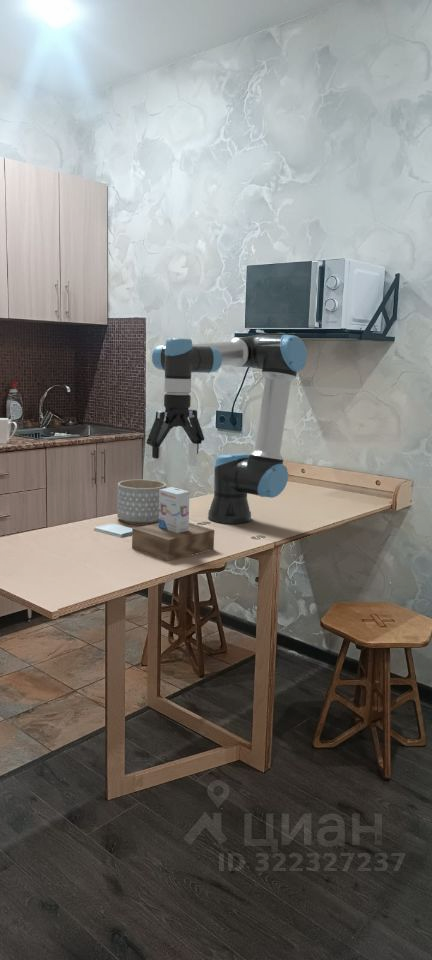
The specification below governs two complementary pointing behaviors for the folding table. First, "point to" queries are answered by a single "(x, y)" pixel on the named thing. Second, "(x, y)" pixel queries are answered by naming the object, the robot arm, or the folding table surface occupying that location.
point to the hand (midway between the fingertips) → (175, 467)
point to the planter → (139, 501)
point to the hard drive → (114, 530)
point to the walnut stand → (172, 541)
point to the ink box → (174, 509)
